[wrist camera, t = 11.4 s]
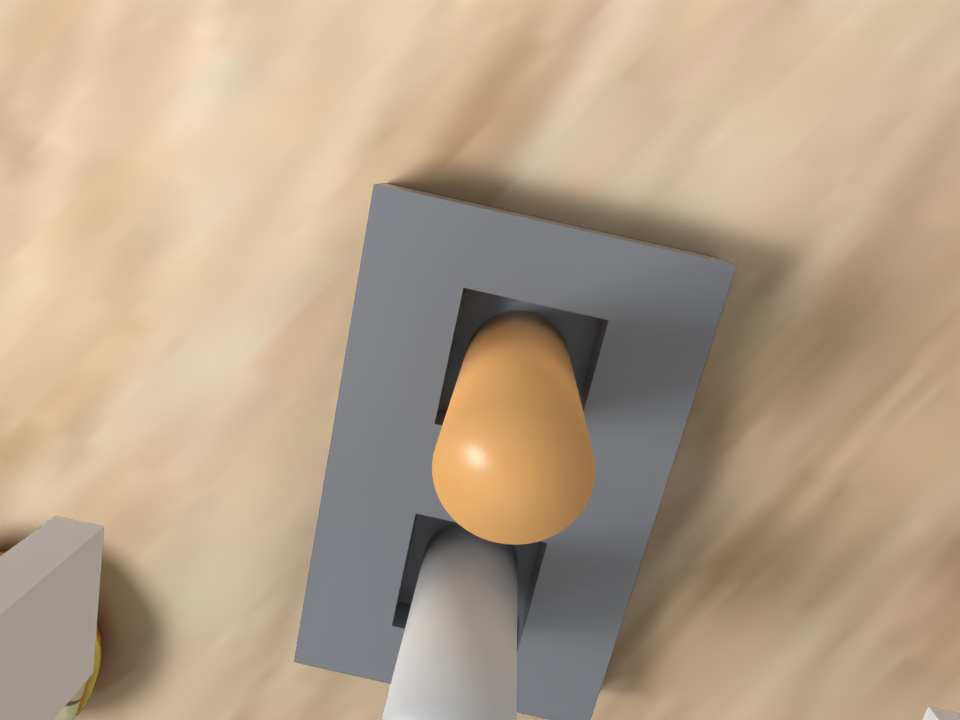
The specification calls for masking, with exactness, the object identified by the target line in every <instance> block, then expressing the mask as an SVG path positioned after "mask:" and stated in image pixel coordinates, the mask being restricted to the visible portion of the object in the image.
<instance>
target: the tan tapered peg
mask: <svg viewBox="0 0 960 720" xmlns="http://www.w3.org/2000/svg"><path fill="white" fill-rule="evenodd" d="M595 473H596V468H595V459H594V454H593V450H592V446H591V442H590V437H589V433H588V429H587V425H586V421H585V417H584V413H583V409H582V405H581V401H580V397H579V392H578V388H577V384H576V380H575V376H574V372H573V368H572V364H571V360H570V356H569V352H568V347H567V345H566V342H565V340H564V338H563V336H562V334H561V333H560V332H559V330H558V329H557V328H556V327H555V326H554V325H553V324H552V323H551V322H550V321H548V320H547V319H545V318H543V317H542V316H539V315H537V314H534V313H531V312H526V311H509V312H504V313H501V314H498V315H495V316H494V317H492V318H490V319H488V320H487V321H486V322H484V323H483V324H482V325H481V326H480V327H479V328H478V329H477V330H476V332H475V333H474V335H473V336H472V338H471V340H470V342H469V345H468V348H467V351H466V354H465V357H464V360H463V363H462V367H461V370H460V373H459V376H458V379H457V382H456V385H455V388H454V391H453V394H452V397H451V400H450V404H449V407H448V410H447V413H446V416H445V419H444V422H443V425H442V428H441V431H440V434H439V437H438V441H437V444H436V447H435V450H434V454H433V461H432V476H433V483H434V486H435V490H436V493H437V495H438V497H439V500H440V502H441V503H442V505H443V507H444V508H445V510H446V511H447V512H448V514H449V515H450V516H451V517H452V518H453V519H454V520H455V521H456V522H457V523H458V524H459V525H460V526H462V527H463V528H464V529H466V530H467V531H469V532H470V533H472V534H474V535H476V536H478V537H480V538H483V539H485V540H488V541H492V542H495V543H501V544H512V545H519V544H529V543H534V542H538V541H542V540H545V539H547V538H550V537H552V536H554V535H556V534H558V533H559V532H561V531H563V530H564V529H565V528H567V527H568V526H569V525H570V524H572V523H573V522H574V521H575V520H576V519H577V518H578V517H579V515H580V514H581V513H582V511H583V510H584V508H585V507H586V505H587V503H588V501H589V499H590V497H591V494H592V491H593V487H594V483H595Z"/></svg>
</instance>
